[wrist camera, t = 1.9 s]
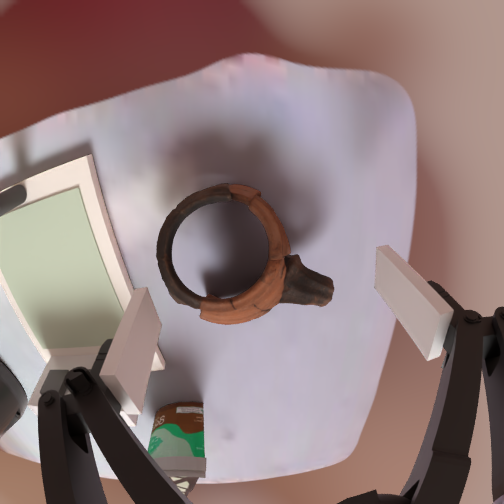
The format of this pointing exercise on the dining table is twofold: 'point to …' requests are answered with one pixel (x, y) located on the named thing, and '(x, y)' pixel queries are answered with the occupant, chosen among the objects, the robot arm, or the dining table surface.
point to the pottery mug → (270, 282)
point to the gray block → (12, 198)
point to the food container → (179, 443)
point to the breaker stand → (65, 270)
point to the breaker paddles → (55, 381)
